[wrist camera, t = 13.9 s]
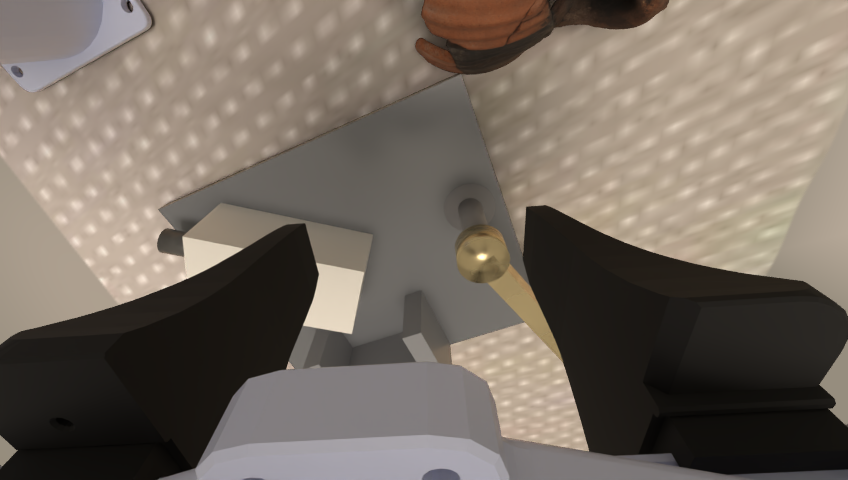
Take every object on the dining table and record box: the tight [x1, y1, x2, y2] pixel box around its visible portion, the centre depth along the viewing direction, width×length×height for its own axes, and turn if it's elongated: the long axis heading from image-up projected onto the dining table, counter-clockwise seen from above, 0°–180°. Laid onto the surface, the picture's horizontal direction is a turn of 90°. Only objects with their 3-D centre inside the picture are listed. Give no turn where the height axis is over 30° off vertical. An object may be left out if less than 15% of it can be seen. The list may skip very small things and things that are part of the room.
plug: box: [157, 203, 373, 334], centre depth 21 cm, size 11×4×4 cm, turn 76°
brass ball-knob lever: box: [455, 224, 563, 362], centre depth 19 cm, size 2×13×1 cm, turn 40°
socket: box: [159, 73, 531, 369], centre depth 22 cm, size 17×19×5 cm
